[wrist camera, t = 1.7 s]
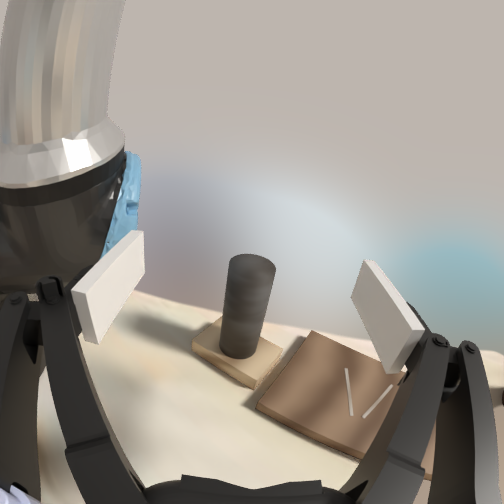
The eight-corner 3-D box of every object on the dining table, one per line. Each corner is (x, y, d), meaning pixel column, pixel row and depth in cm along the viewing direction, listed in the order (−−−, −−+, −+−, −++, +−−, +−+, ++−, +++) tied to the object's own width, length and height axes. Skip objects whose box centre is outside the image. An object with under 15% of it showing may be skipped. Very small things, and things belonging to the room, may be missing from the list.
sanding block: (191, 350, 31) (195, 258, 25) (221, 326, 36) (232, 239, 30) (253, 390, 27) (280, 301, 21) (279, 359, 32) (308, 272, 26)
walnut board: (255, 408, 25) (258, 401, 25) (308, 337, 36) (311, 329, 36) (437, 482, 15) (446, 477, 15) (449, 399, 26) (455, 392, 26)
